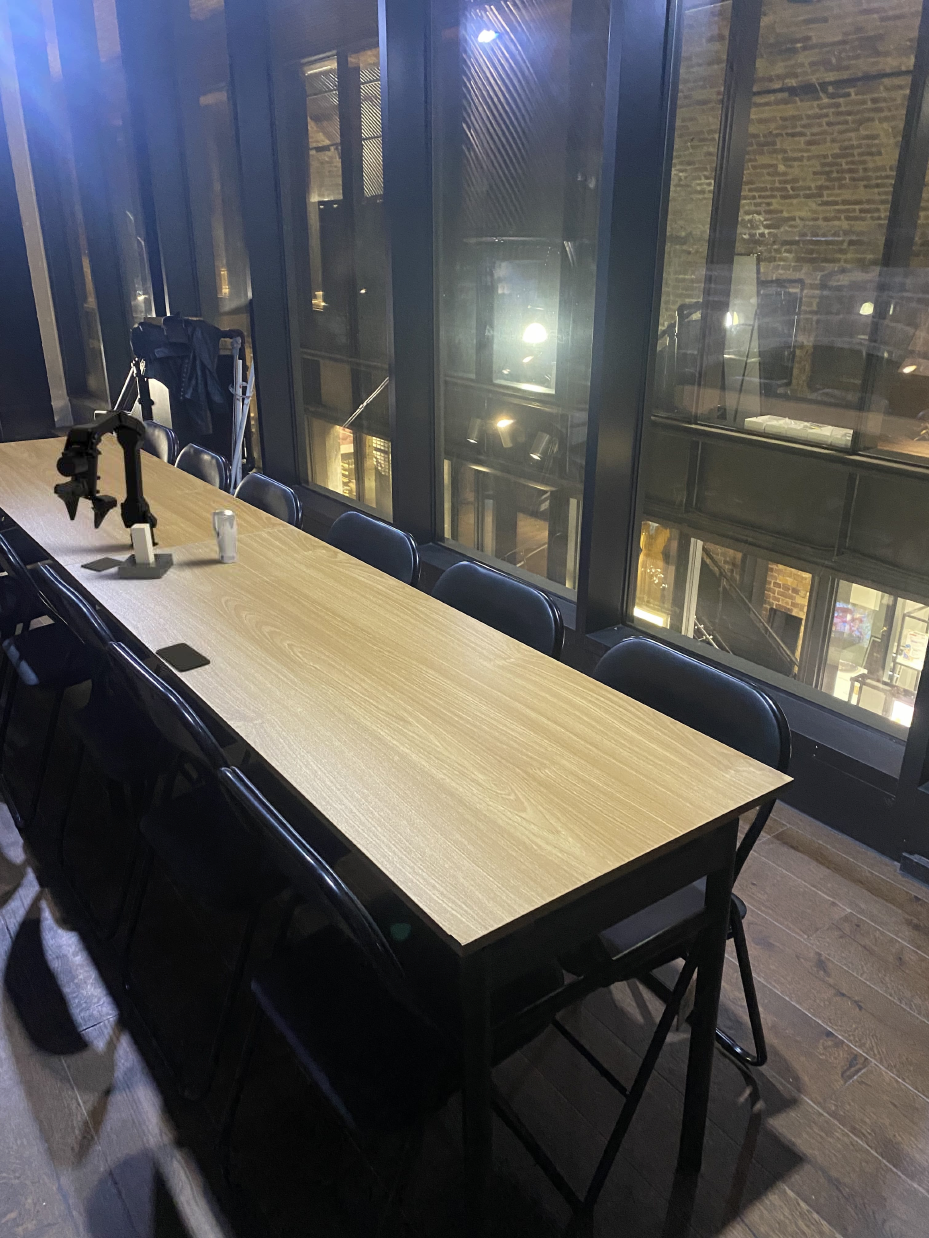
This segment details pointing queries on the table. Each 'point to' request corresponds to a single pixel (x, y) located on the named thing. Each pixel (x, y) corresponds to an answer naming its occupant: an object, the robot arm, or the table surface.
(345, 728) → the table surface
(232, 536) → the beer glass
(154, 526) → the robot arm
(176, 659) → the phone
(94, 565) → the mat
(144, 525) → the peg
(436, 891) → the table surface
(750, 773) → the table surface
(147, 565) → the socket block
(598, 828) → the table surface
